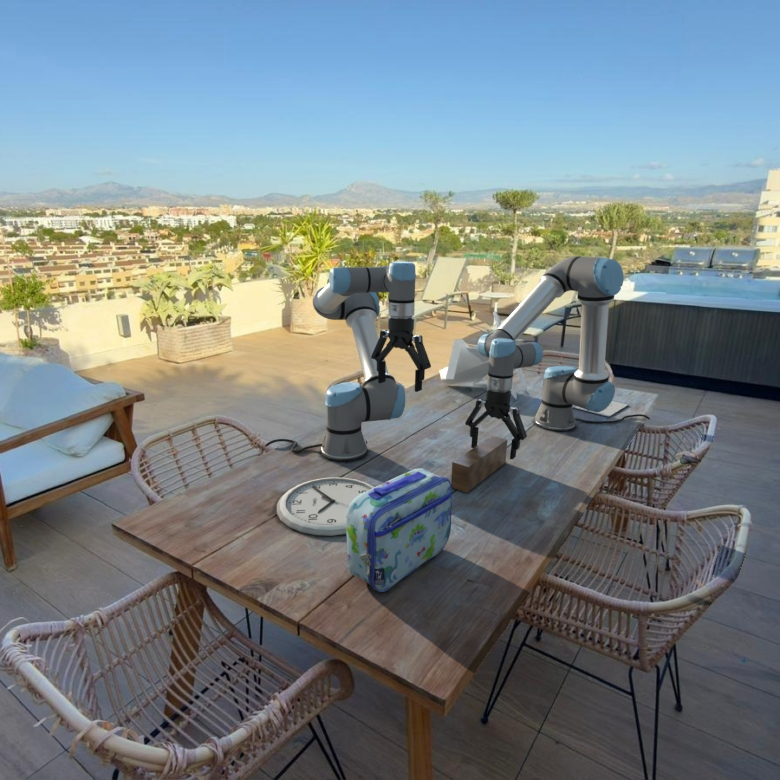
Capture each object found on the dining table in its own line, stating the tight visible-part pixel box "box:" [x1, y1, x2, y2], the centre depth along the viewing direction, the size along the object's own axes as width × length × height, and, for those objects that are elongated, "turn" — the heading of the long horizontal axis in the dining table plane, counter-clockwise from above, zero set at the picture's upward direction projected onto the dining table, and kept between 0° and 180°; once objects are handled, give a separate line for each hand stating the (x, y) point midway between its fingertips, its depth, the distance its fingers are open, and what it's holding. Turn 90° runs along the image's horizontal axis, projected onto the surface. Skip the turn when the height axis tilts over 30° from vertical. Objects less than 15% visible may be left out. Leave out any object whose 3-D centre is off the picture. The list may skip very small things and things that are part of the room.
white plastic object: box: [438, 310, 531, 400], centre depth 245 cm, size 37×45×31 cm
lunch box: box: [345, 467, 453, 593], centre depth 115 cm, size 26×11×21 cm, turn 135°
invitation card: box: [573, 400, 629, 418], centre depth 226 cm, size 21×1×15 cm
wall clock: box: [276, 476, 376, 537], centre depth 142 cm, size 30×2×30 cm
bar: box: [450, 435, 508, 494], centre depth 161 cm, size 26×5×8 cm, turn 143°
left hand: (399, 386), depth 158 cm, fingers open, 13 cm apart
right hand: (493, 452), depth 168 cm, fingers open, 13 cm apart
